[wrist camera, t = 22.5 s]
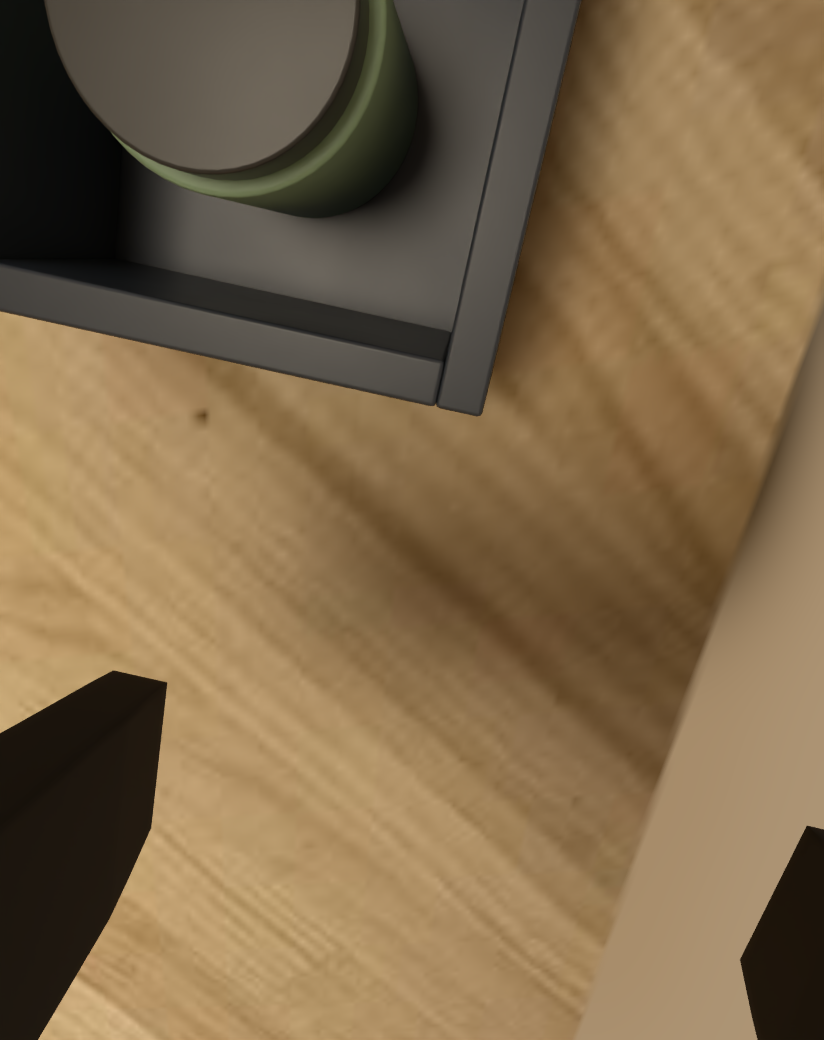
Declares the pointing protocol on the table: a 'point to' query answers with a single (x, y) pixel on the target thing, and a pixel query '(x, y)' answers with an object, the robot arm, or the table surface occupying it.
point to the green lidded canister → (249, 94)
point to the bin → (295, 219)
